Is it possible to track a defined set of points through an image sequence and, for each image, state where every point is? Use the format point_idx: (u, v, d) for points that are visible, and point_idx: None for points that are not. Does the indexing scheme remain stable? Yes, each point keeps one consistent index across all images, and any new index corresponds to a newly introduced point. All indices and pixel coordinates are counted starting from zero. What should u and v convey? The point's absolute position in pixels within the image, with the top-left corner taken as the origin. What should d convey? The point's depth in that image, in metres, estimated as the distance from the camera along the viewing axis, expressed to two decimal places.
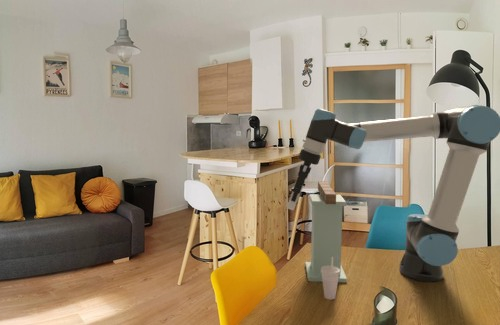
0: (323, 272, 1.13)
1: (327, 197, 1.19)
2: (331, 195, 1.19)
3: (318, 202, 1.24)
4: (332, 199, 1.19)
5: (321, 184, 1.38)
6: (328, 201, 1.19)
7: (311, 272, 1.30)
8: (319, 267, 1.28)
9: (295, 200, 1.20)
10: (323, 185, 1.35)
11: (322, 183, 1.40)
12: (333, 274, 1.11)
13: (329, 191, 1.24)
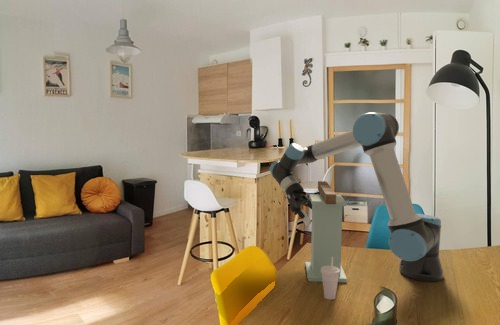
0: (323, 272, 1.13)
1: (327, 197, 1.19)
2: (331, 195, 1.19)
3: (318, 202, 1.24)
4: (332, 199, 1.19)
5: (321, 184, 1.38)
6: (328, 201, 1.19)
7: (311, 272, 1.30)
8: (319, 267, 1.28)
9: (304, 215, 1.36)
10: (323, 185, 1.35)
11: (322, 183, 1.40)
12: (333, 274, 1.11)
13: (329, 191, 1.24)
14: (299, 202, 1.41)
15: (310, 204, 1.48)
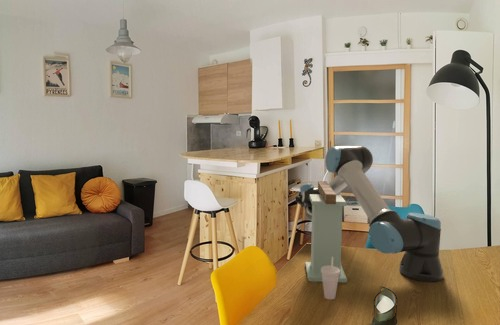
0: (323, 272, 1.13)
1: (327, 197, 1.19)
2: (331, 195, 1.19)
3: (318, 202, 1.24)
4: (332, 199, 1.19)
5: (321, 184, 1.38)
6: (328, 201, 1.19)
7: (311, 272, 1.30)
8: (319, 267, 1.28)
9: (302, 195, 1.60)
10: (323, 185, 1.35)
11: (322, 183, 1.40)
12: (333, 274, 1.11)
13: (329, 191, 1.24)
14: None
15: None
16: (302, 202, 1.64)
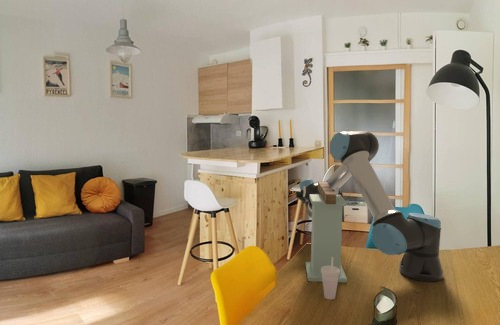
0: (323, 272, 1.13)
1: (327, 197, 1.19)
2: (331, 195, 1.19)
3: (318, 202, 1.24)
4: (332, 199, 1.19)
5: (321, 184, 1.38)
6: (328, 201, 1.19)
7: (311, 272, 1.30)
8: (319, 267, 1.28)
9: (303, 190, 1.49)
10: (323, 185, 1.35)
11: (322, 183, 1.40)
12: (333, 274, 1.11)
13: (329, 191, 1.24)
14: None
15: None
16: (303, 198, 1.53)
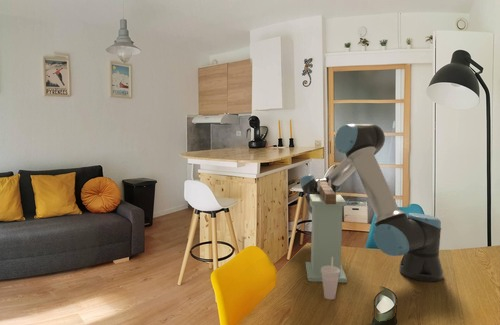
0: (323, 272, 1.13)
1: (327, 197, 1.19)
2: (331, 195, 1.19)
3: (318, 202, 1.24)
4: (332, 199, 1.19)
5: (321, 184, 1.38)
6: (328, 201, 1.19)
7: (311, 272, 1.30)
8: (319, 267, 1.28)
9: (317, 184, 1.40)
10: (323, 185, 1.35)
11: (322, 183, 1.40)
12: (333, 274, 1.11)
13: (329, 191, 1.24)
14: None
15: None
16: (314, 192, 1.44)
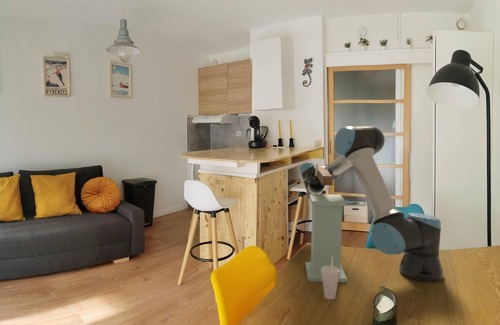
0: (323, 272, 1.13)
1: (324, 179, 1.27)
2: (328, 177, 1.27)
3: (318, 202, 1.24)
4: (329, 180, 1.27)
5: (319, 168, 1.45)
6: (325, 182, 1.27)
7: (311, 272, 1.30)
8: (319, 267, 1.28)
9: (315, 168, 1.48)
10: (320, 169, 1.43)
11: (320, 168, 1.47)
12: (333, 274, 1.11)
13: (326, 174, 1.32)
14: None
15: None
16: (312, 177, 1.52)
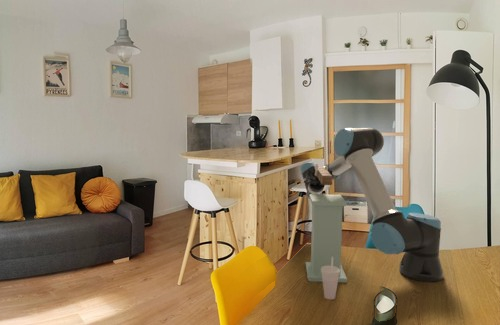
0: (323, 272, 1.13)
1: (324, 178, 1.29)
2: (327, 176, 1.28)
3: (318, 202, 1.24)
4: (328, 180, 1.28)
5: (318, 168, 1.47)
6: (324, 182, 1.29)
7: (311, 272, 1.30)
8: (319, 267, 1.28)
9: None
10: (320, 169, 1.45)
11: (319, 168, 1.49)
12: (333, 274, 1.11)
13: (326, 173, 1.33)
14: None
15: None
16: (312, 177, 1.53)
